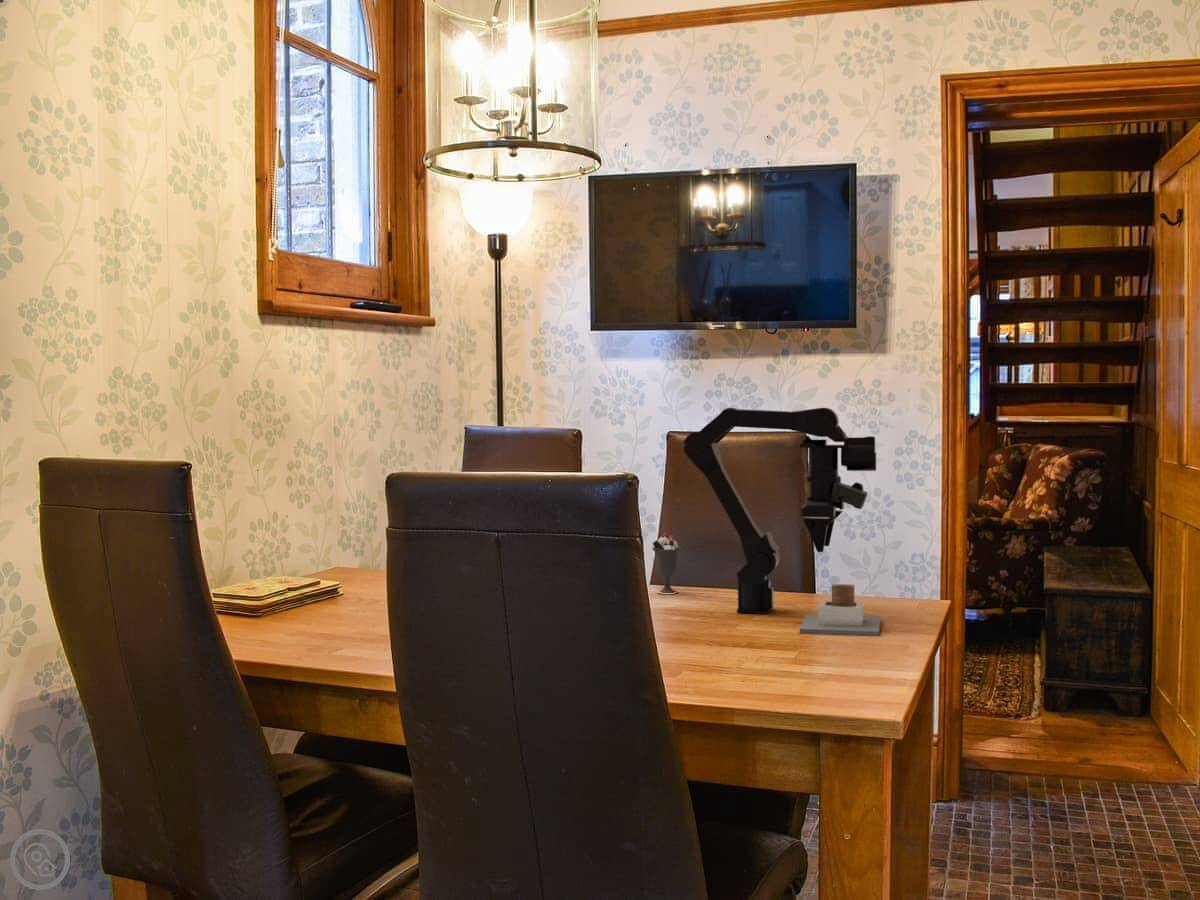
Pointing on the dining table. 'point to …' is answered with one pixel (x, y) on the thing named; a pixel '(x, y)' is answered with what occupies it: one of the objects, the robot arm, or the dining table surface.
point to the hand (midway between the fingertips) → (823, 548)
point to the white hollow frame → (840, 614)
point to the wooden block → (842, 595)
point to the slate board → (841, 627)
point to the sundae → (666, 558)
